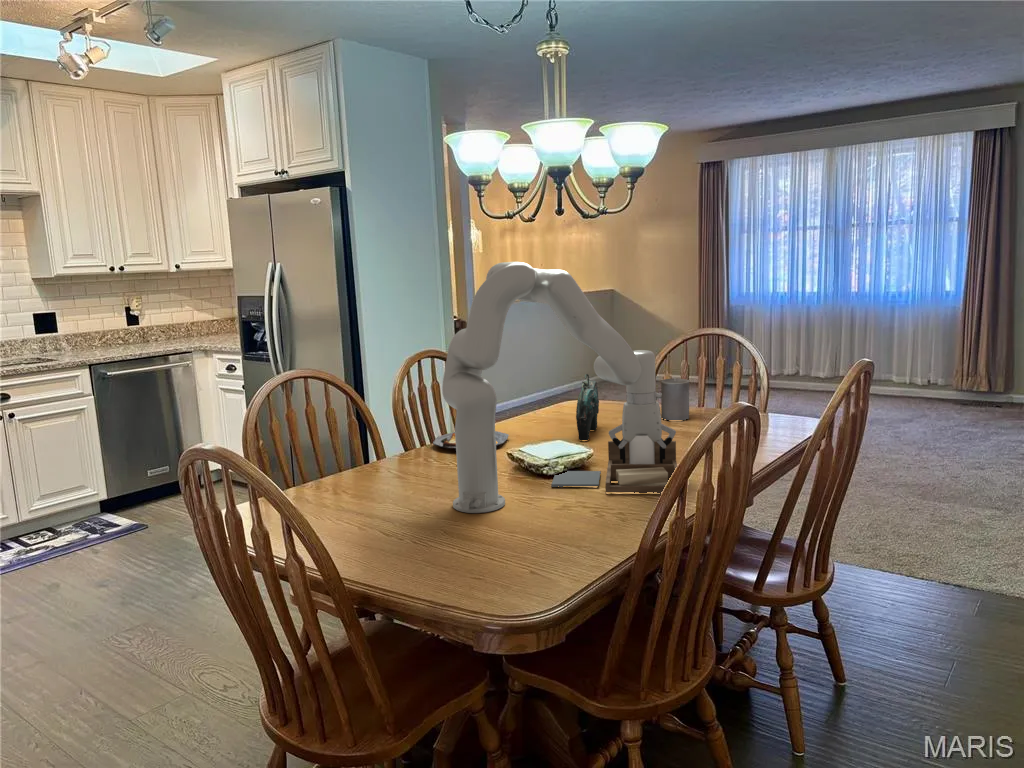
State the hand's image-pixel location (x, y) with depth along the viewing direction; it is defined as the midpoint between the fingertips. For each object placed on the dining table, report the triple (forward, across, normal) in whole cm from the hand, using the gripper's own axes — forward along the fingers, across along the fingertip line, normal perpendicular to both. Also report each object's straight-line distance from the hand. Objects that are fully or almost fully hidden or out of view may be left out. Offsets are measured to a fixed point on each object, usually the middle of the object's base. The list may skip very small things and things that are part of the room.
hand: (642, 462), depth 198 cm
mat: (+4, +17, +4) cm, 18 cm away
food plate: (+4, +54, -36) cm, 65 cm away
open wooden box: (+4, 0, +4) cm, 6 cm away
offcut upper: (+2, 0, +10) cm, 10 cm away
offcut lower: (+5, 0, +10) cm, 11 cm away
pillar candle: (+5, -12, -71) cm, 72 cm away
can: (+4, 0, 0) cm, 4 cm away
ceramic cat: (+4, +17, -48) cm, 51 cm away
